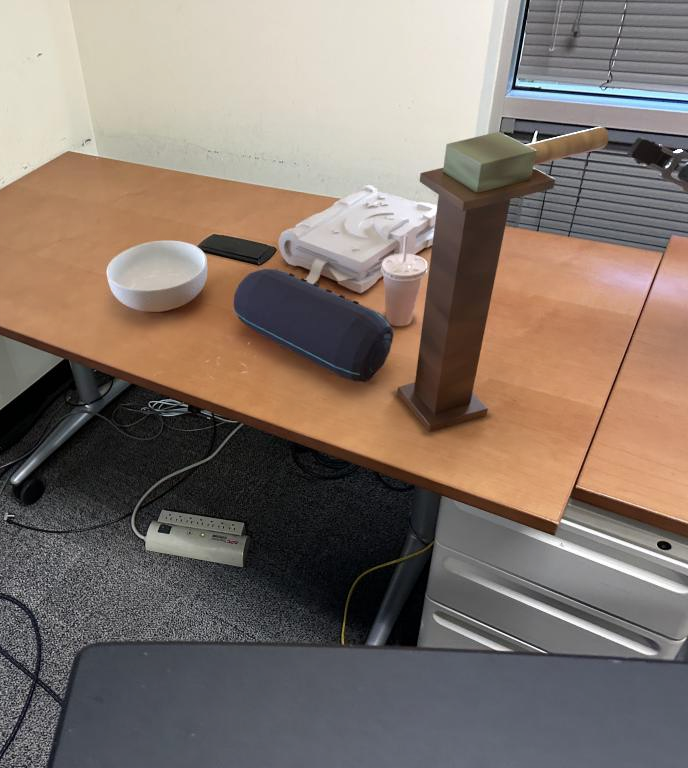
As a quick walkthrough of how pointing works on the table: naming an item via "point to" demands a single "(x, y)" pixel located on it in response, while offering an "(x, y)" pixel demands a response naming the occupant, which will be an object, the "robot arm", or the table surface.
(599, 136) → the green wooden mallet
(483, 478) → the table surface
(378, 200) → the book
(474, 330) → the stand
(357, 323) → the portable speaker
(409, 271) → the smoothie
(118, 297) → the cereal bowl
